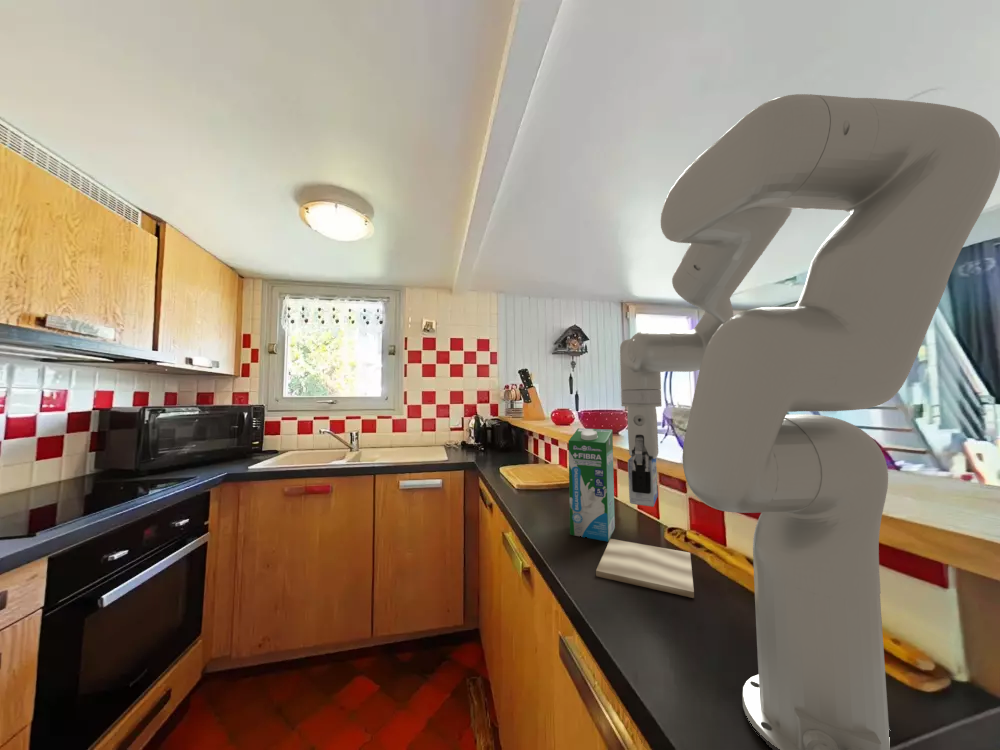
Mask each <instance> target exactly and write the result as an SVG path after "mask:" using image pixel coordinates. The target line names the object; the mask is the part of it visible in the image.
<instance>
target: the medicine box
mask: <svg viewBox="0 0 1000 750" xmlns="http://www.w3.org/2000/svg"><path fill="white" fill-rule="evenodd" d="M657 468H658V467H657V457H656V458H655V459H653V456H649V472H650V479H651V493H650V494H646V493H637V492H633V491H632V470H633V457H631V456H630V458H629V459H628V460H627V471H628V472H627V473H628V474H627V475H628V496H629V497H628V498H629V503H630V504H631V505H636V506H644V507H652V508H654V506H655V504H656V501H657V498H658V496H659V492H658V473H657V471H658V470H657Z"/></svg>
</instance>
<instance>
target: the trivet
mask: <svg viewBox="0 0 1000 750" xmlns="http://www.w3.org/2000/svg"><path fill="white" fill-rule="evenodd" d="M691 557H692V556H691V552H687V551H682V550H677V549H676V550H675V549H671V548H666V547H659V546H654V545H648V544H642V543H637V542H631V541H625V540H619V539H615V538H610V539H609V541H608V543H607V546H606V548H605V550H604V552H603V554H602V556H601V558H600V561H599V563H598V565H597V568H596V569H595V575H596V577H599V578H603V579H607V580H613V581H617V582H621V583H625V584H630V585H633V586H639V587H643V588H648V589H652V590H657V591H661V592H665V593H669V594H675V595H679V596H683V597H688V598H692V599H695V589H694V578H693V570H692V569H693V568H692V559H691Z"/></svg>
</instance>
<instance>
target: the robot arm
mask: <svg viewBox="0 0 1000 750" xmlns="http://www.w3.org/2000/svg"><path fill="white" fill-rule="evenodd" d="M999 175H1000V135H999V132H998V131H997V129H996V128H995V126H994V125H993V124H992V123H991V121H989V120H988V119H987V118H985V117H984V116H982V115H981V114H977V112H973V111H970V110H967V109H965V108H960V107H957V106H951V105H946V104H939V103H933V102H923V101H914V100H902V99H890V98H876V97H875V98H874V97H850V96H837V95H836V96H835V95H824V94H822V95H821V94H809V93H807V94H805V93H804V94H802V93H801V94H800V93H798V94H788V95H783V96H780V97H776V98H772V99H770V100H768V101H766V102H763V103H762V104H760V105H759V106H756V108H754V109H752V110H751V111H750V112H748V113H747V114H746V115H745V116H743V117H742V118H740V120H739V121H737V122H736V123H735V124H734V125H733V126H732V127H731V128H729V129H728V130H727V131H726V132H725V133H724V134H722V136H721V137H719V139H717V140H716V141H715V142H714V143H713V144H712V145H710V146H709V147H708V148H707V149H705V151H704V152H702V153H701V154H700V155H699V156H698V157H696V158H695V160H694V161H692V162H691V164H690V165H688V167H687V168H686V169H685V170H684V171H683V172H682V174H681V175H680V176H679V177H678V178H677V180H676V181H675V182H674V184H673V186H672V187H671V188H670V190H669V192H668V194H667V196H666V198H665V200H664V203H663V206H662V209H661V213H660V228H661V233H662V234H663V237H665V238H666V239H667V240H668V241H670V242H672V243H676V244H677V243H678V244H689V246H688V248H687V249H686V251H685V253H684V255H683V257H682V258H681V261H680V262H679V264H678V266H677V267H676V269H675V271H674V272H673V276H672V279H671V283H672V287H673V289H674V291H675V292H676V293H677V295H679V297H681V299H683V300H684V301H686V302H687V303H689V304H690V305H692V306H694V307H696V308H698V309H700V310H702V311H703V312H704V313H703V315H702V316H701V319H700V320H699V321H698V323H697V324H696V325H695V327H694V328H693V329H691V330H666V329H664V330H642V331H638V332H637V333H635V334H634V335H633V336H632V337H631V338H627V339H624V340H623V341H622V342H621V343H620V346H619V348H620V349H619V353H620V354H619V357H620V359H619V360H620V394H621V395H620V398H621V404H620V405H621V407H624V408H625V407H627V409H626V410H627V441H628V451H629V456H630V458H631V457H633V470H632V491H633V492H637V493H646V494H650V493H651V479H650V472H649V456H653V459H655V458H656V459H657V458H658V456H659V437H658V433H659V432H658V430H659V429H658V416H657V407H658V408H659V407H662V405H663V404H662V380H661V379H662V378H661V376H662V375H661V373H664V372H665V373H666V372H669V373H670V372H672V373H673V372H675V373H676V372H677V373H679V372H682V373H685V372H686V373H687V372H688V373H690V372H697V371H698V375H697V381H696V384H695V389H694V394H693V398H692V401H691V407H690V413H689V416H688V421H687V425H686V430H685V433H684V438H683V446H682V467H683V473H684V476H685V480H686V483H687V485H688V486H689V488H690V490H691V491H692V493H693V495H695V497H696V498H697V499H699V501H701V502H702V503H703V504H705V505H707V506H709V507H711V508H712V509H715V510H719V511H721V512H727V513H740V514H741V513H742V514H743V513H744V514H745V513H746V514H747V513H748V514H749V513H751V514H756V513H760V515H759V517H758V520H757V522H756V525H755V530H754V533H753V537H752V554H753V557H752V561H753V582H754V602H755V603H754V604H755V605H754V606H755V627H756V647H757V648H756V649H757V669H758V670H757V671H758V674H756V675H753V676H751V677H750V678H748V679H747V680H746V681H745V682H744V685H743V686H742V692H741V693H742V694H741V696H742V709H743V711H744V715H745V716H747V717H746V719H747V718H748V719H747V721H748V722H749V721H750V722H749V724H750V723H751V724H752V726H753V727H754V728H755V729H756V730H757V731H758V732H759V733H760V735H762V736H763V737H764V738H765V739H766V740H767V741H769V742H770V743H771V744H772V745H774V746H775V747H777V748H778V749H780V750H890V737H889V730H890V726H889V725H890V724H889V711H888V710H889V709H888V697H887V696H888V693H887V679H886V665H885V650H884V649H885V648H884V637H883V620H882V619H883V618H882V617H883V616H882V605H881V604H882V603H881V602H882V601H881V579H880V578H881V577H880V575H881V574H880V554H879V553H880V550H879V548H880V547H879V544H880V532H881V531H880V530H881V523H882V517H883V512H884V508H885V503H886V499H887V493H888V486H889V471H888V466H887V465H888V464H887V461H886V458H885V455H884V453H883V452H882V449H881V447H880V446H879V445H878V444H877V442H876V441H875V440H874V439H873V437H871V436H870V435H869V433H867V432H866V431H864V430H863V429H861V428H860V427H859V426H857V425H854V424H853V423H851V422H848V421H846V420H842V419H841V418H837V417H833V416H832V417H831V416H826V415H823V414H822V415H821V414H809V413H807V414H805V413H801V414H800V413H799V414H792V412H794V413H795V412H843V411H844V412H847V411H858V410H859V411H860V410H866V409H870V408H873V407H878V406H881V405H883V404H885V403H887V402H889V401H890V400H891V399H893V397H895V396H896V395H897V393H898V392H899V391H900V390H901V388H903V386H904V384H905V382H906V380H907V379H908V377H909V374H910V373H911V370H912V367H913V365H914V363H915V360H916V359H917V356H918V354H919V351H920V349H921V347H922V344H923V342H924V339H925V338H926V335H927V332H928V330H929V329H930V325H931V324H932V320H933V318H934V316H935V313H936V312H937V309H938V306H939V304H940V302H941V299H942V297H943V295H944V293H945V291H946V287H947V286H948V285H947V284H948V282H949V279H950V275H951V273H952V270H953V269H954V266H955V265H956V264H955V263H956V262H957V259H958V257H959V256H960V253H961V251H962V249H963V248H964V245H965V243H966V241H967V239H968V237H969V236H970V234H971V232H972V230H973V229H974V227H975V225H976V223H977V221H978V220H979V218H980V216H981V215H982V212H983V210H984V208H985V207H986V205H987V203H988V201H989V199H990V197H991V195H992V192H993V190H994V188H995V186H996V183H997V180H998V178H999ZM794 209H799V210H829V211H830V210H831V211H832V210H833V211H834V210H835V211H845V212H847V213H849V214H850V215H848V216H847V217H845V218H844V219H843V221H841V222H840V223H839V224H838V225H837V226H836V227H835V228H834V229H833V230H832V231H831V233H830V234H828V236H827V237H826V239H825V240H824V241H823V243H822V244H821V245H820V247H819V248H818V250H817V251H816V253H815V255H814V257H813V259H811V262H810V266H809V268H808V272H807V276H806V279H805V283H804V287H803V288H802V291H801V294H800V297H799V299H798V301H797V303H796V305H795V306H794V307H789V306H787V307H785V306H783V307H782V306H771V307H770V306H765V307H764V306H763V307H756V308H751V309H747V310H744V311H741V312H738V313H737V314H734V308H733V305H732V301H731V297H732V295H734V293H735V292H736V290H737V289H738V288H739V286H740V285H741V284H742V282H743V280H745V278H746V277H747V276H748V274H749V272H750V271H751V270H752V269H753V267H754V265H755V264H756V263H757V261H758V260H759V259H760V257H761V256H762V255H763V253H764V252H765V250H766V249H767V248H768V247H769V245H770V243H771V242H772V241H773V239H774V238H775V237H776V235H777V234H778V233H779V231H781V229H782V227H783V226H784V225H785V223H786V222H787V220H788V218H789V217H790V216H791V213H792V212H793V210H794ZM787 413H791V414H787ZM751 724H750V725H751ZM752 726H751V727H752Z"/></svg>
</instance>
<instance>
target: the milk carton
mask: <svg viewBox="0 0 1000 750" xmlns="http://www.w3.org/2000/svg"><path fill="white" fill-rule="evenodd" d="M613 432H614V431H613V429H606V428H605V429H602V428H577V429H576V430H575V432H574V433H572V435H571V437H570V438H569V440H568V486H569V487H568V489H569V491H568V492H569V493H568V494H569V497H568V499H569V536H570V535H571V536H575V537H580V536H581V538H585V537H587V538H586V539H590V540H591V539H592V540H596V541H603V542H608V543H609V541H610V539H611V537H612V534H613V533H614V531H615V529H616V526H615V525H616V524H615V523H616V520H615V519H616V518H615V483H614V481H615V480H614V476H615V475H614V444H613V443H614V442H613V440H614V439H613V437H614V436H613V434H614V433H613Z"/></svg>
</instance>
